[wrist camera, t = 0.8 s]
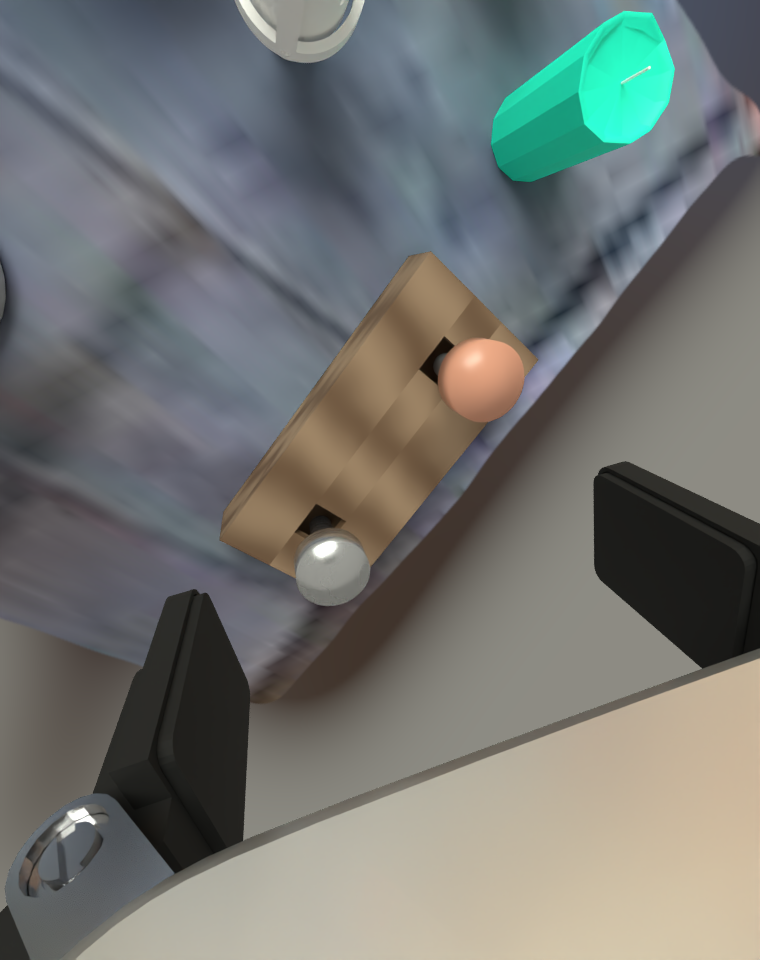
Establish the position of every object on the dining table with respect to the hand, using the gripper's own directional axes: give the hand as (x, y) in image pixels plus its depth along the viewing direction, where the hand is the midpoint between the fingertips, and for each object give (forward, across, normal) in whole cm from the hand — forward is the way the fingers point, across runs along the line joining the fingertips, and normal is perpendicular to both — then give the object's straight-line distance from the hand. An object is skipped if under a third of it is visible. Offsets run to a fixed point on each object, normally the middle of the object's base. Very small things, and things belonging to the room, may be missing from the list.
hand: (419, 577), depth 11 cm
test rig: (+30, -3, +6) cm, 30 cm away
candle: (+30, -20, -13) cm, 39 cm away
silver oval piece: (+25, +3, +11) cm, 27 cm away
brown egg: (+25, -10, +1) cm, 27 cm away
